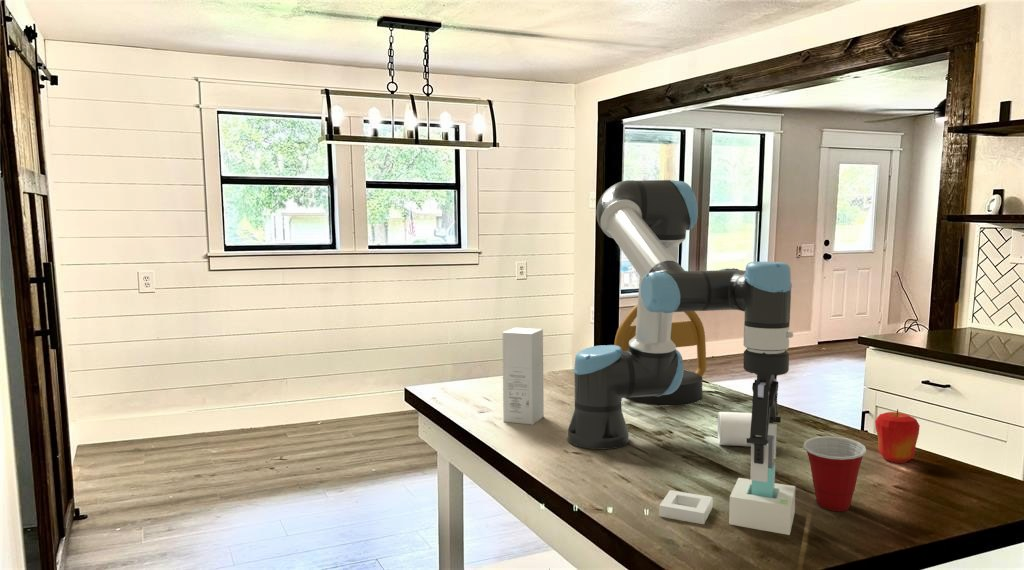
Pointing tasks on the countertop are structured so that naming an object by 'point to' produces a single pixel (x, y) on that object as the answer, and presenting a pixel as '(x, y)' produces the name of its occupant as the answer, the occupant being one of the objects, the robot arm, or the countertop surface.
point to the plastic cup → (834, 470)
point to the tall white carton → (523, 375)
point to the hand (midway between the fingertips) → (763, 468)
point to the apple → (897, 436)
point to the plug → (768, 487)
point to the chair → (681, 337)
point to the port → (762, 508)
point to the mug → (734, 428)
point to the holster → (686, 507)
